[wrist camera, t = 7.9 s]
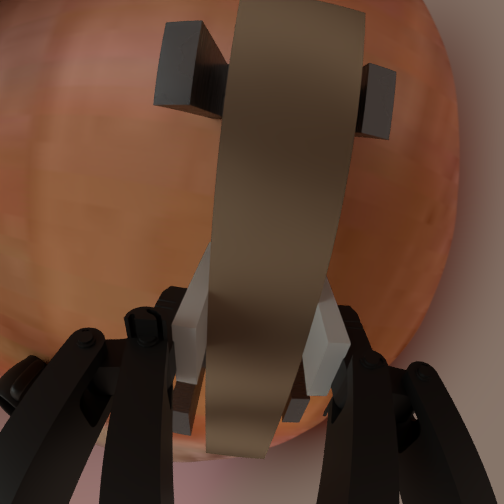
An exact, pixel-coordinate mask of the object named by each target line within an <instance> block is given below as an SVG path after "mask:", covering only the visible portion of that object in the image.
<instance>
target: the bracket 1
mask: <svg viewBox="0 0 504 504" xmlns="http://www.w3.org/2000/svg"><path fill="white" fill-rule="evenodd" d="M228 71H229V64H227V62H226V61H225V59H224V57H223V55H222V53H221V52H220V50H219V48H218V46H217V45H216V43H215V41H214V40H213V38H212V36H211V34H210V33H209V31H208V29H207V28H206V26H205V24H204V23H203V21H180V22H167V23H166V26H165V31H164V36H163V41H162V47H161V52H160V59H159V65H158V72H157V79H156V87H155V95H154V104H153V105H156V106H161V107H166V108H170V109H175V110H179V111H184V112H188V113H192V114H196V115H200V116H204V117H208V118H216V119H222V117H223V109H224V101H225V93H226V85H227V78H228ZM395 83H396V72H395V71H393V70H390V69H387V68H384V67H381V66H378V65H375V64H372V63H368V64H367V65H365V66H363V67H362V77H361V88H360V97H359V105H358V113H357V121H356V128H355V135H354V137H365V138H376V139H385V140H389V134H390V128H391V120H392V112H393V104H394V94H395Z"/></svg>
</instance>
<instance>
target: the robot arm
mask: <svg viewBox="0 0 504 504" xmlns="http://www.w3.org/2000/svg"><path fill="white" fill-rule="evenodd" d="M210 250H211V242H209V244H208V246H207V248H206V251H205V253H204V255H203V257H202V259H201V261H200V263H199V265H198V267H197V270H196V272H195V274H194V276H193V278H192V280H191V283H190V285H189V287H188V289H187V288H181V287H174V286H170V287H169V288H167V289H166V290H165V291H163V292H162V294H161V296H160V297H159V299H158V301H157V303H156V304H155V307H154V308H153V307H138V308H135V309H132V310H131V311H129V312H128V313H127V314H126V316H125V317H124V321H125V326H126V331H127V336H128V338H126V339H109V340H105V337H104V335H103V333H102V332H101V331H99V330H98V329H96V328H82V329H79V330H77V331H75V332H74V333H73V334H72V335H71V336H70V337H69V338H68V339H67V341H66V342H65V343H64V344H63V346H62V347H61V348H60V349H59V351H58V352H57V353H56V354H55V356H54V357H53V358H52V359H51V361H50V362H49V363H48V365H47V366H46V367H45V369H44V370H43V371H42V372H41V374H40V375H39V376H38V378H37V379H36V381H35V382H34V383H33V385H32V386H31V387H30V389H29V390H28V392H27V393H26V394H25V396H24V397H23V399H22V400H21V401H20V403H19V404H18V406H17V407H16V409H15V410H14V412H13V413H12V415H11V416H10V418H9V420H8V421H7V422H6V424H5V426H4V427H3V429H2V430H1V432H0V504H69V501H70V499H71V497H72V494H73V492H74V490H75V487H76V485H77V483H78V480H79V478H80V476H81V473H82V471H83V469H84V467H85V465H86V462H87V460H88V458H89V456H90V454H91V451H92V449H93V447H94V445H95V443H96V441H97V439H98V437H99V434H100V432H101V430H102V428H103V426H104V424H105V422H106V420H107V418H108V416H109V414H110V412H111V414H110V419H109V425H108V431H107V437H106V444H105V451H104V458H103V466H102V475H101V485H100V498H99V504H174V492H173V452H172V432H173V391H174V390H173V383H172V382H173V379H174V376H175V373H176V380H177V381H180V382H185V383H190V384H196V385H197V382H198V378H199V374H200V370H201V366H202V362H203V358H204V354H205V350H206V346H207V316H208V286H209V267H210ZM302 358H303V366H304V374H305V382H306V390H307V396H327V394H328V392H329V390H330V388H332V393H333V397H332V398H331V400H330V402H329V404H328V406H327V408H326V409H325V411H324V414H323V416H326V415H327V413H328V421H327V432H326V441H325V450H324V458H323V465H322V472H321V479H320V485H319V492H318V497H317V503H316V504H399V491H400V495H401V499H402V503H403V504H497V501H496V498H495V495H494V492H493V489H492V487H491V484H490V481H489V479H488V476H487V473H486V471H485V468H484V466H483V463H482V461H481V459H480V456H479V454H478V452H477V449H476V447H475V445H474V443H473V441H472V438H471V436H470V434H469V432H468V430H467V428H466V426H465V424H464V422H463V420H462V418H461V416H460V414H459V412H458V410H457V408H456V406H455V404H454V402H453V400H452V398H451V397H450V395H449V393H448V391H447V389H446V388H445V386H444V384H443V382H442V380H441V379H440V377H439V375H438V373H437V372H436V371H435V369H434V368H433V367H432V366H430V365H429V364H427V363H424V362H419V361H416V362H413V363H411V364H410V365H409V367H408V368H407V370H403V369H399V368H395V367H391V366H388V364H387V362H386V359H385V358H384V357H383V356H382V355H381V354H379V353H378V352H376V351H373V350H372V348H371V345H370V343H369V340H368V338H367V336H366V333H365V331H364V329H363V326H362V324H361V323H360V319H359V317H358V314H357V313H356V312H355V311H354V310H353V309H352V308H351V307H350V306H343V305H337V303H336V300H335V298H334V295H333V292H332V289H331V287H330V284H329V282H328V279H327V276H326V278H325V282H324V285H323V289H322V293H321V296H320V300H319V303H318V305H317V308H316V312H315V315H314V319H313V322H312V326H311V329H310V333H309V336H308V339H307V342H306V346H305V349H304V352H303V355H302ZM414 413H415V414H416V416H417V418H418V419H417V420H416V419H415V418H414V416H413V414H414Z"/></svg>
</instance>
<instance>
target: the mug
mask: <svg viewBox="0 0 504 504" xmlns="http://www.w3.org/2000/svg"><path fill="white" fill-rule="evenodd" d="M46 366H47V365H46V364H45V363H44V362H43V361H42V360H41V359H39V358H38V357H36V356H33V355H30V356H28V357H27V358H25V359H24V360H22V361H21V362H19V363H17V364H16V365H14V366H13V367H12V368H11V369H9V370H8V371H7V372H6V373H5V374H4V375H3V376H2V377H1V378H0V406H1V407H2V409H3V410H4V411H5V412H6V413H8V415H10V416H11V415H12V413H13V412H14V410H15V409H16V407H17V406H18V404H19V403H20V401H21V400H22V399H23V397H24V396H25V394H26V393H27V392H28V390H29V389H30V387H31V386H32V385H33V383H34V382H35V381H36V379H37V378H38V376H39V375H40V374H41V372H42V371H43V370H44V369H45V367H46Z"/></svg>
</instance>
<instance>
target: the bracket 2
mask: <svg viewBox="0 0 504 504" xmlns="http://www.w3.org/2000/svg"><path fill="white" fill-rule="evenodd" d="M205 369H206V350H205V354H204V358H203V362H202V366H201V370H200V374H199V378H198V382H197V385H196V384H190V383H185V382H180V381H177V382H176V385H175V388H174V391H173V432H174V433H179V434H184V435H189V436H191V433H192V428H193V423H194V419H195V414H196V409H197V405H198V400H199V396H200V391H201V387H202V382H203V378H204V373H205ZM309 401H310V396H307V390H306V382H305V374H304V366H303V358H302V360H301V363H300V366H299V369H298V372H297V374H296V377H295V380H294V383H293V386H292V389H291V392H290V394H289V397H288V400H287V403H286V405H285V408H284V411H283V413H282V422H299V421H300V419H301V417H302V415H303V413H304V411H305V409H306V407H307V405H308V403H309Z"/></svg>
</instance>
